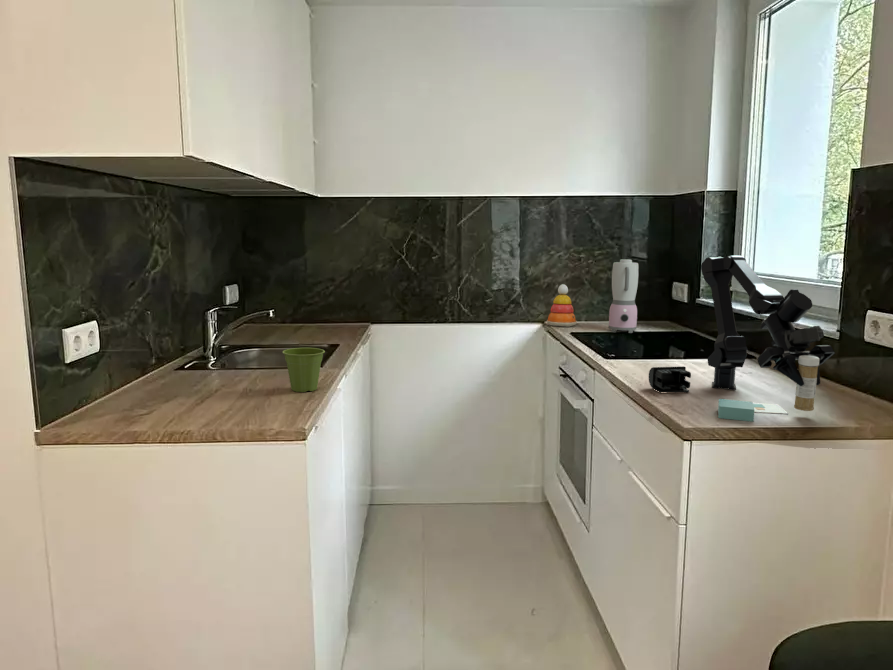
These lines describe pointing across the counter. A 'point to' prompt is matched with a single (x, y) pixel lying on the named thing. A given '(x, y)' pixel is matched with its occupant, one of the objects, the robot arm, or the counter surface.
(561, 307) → the stacking toy
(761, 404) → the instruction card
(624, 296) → the blender
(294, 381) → the plant pot
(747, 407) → the brick
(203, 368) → the counter surface
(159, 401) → the counter surface
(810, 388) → the sprinkles bottle
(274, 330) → the counter surface
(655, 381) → the end cap
